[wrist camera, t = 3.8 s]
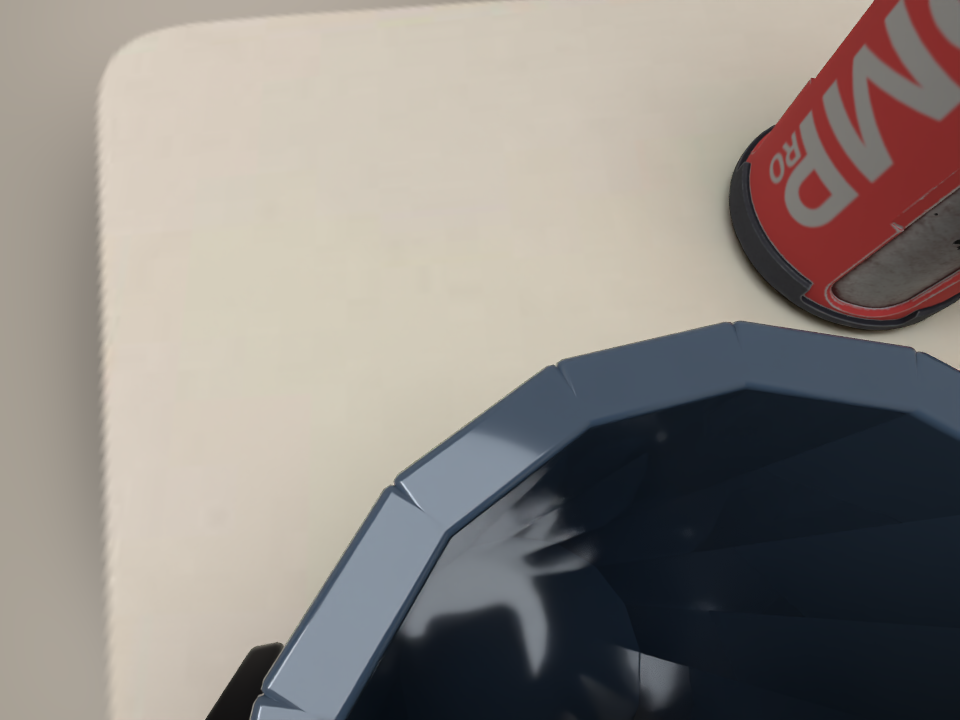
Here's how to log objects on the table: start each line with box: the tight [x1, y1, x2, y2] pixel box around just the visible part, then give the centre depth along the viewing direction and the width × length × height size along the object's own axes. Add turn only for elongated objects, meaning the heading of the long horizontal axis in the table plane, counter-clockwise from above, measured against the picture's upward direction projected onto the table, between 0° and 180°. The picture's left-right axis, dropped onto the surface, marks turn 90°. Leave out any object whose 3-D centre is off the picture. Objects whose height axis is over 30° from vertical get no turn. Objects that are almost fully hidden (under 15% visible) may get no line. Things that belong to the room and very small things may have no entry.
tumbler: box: [250, 321, 960, 720], centre depth 9 cm, size 7×7×13 cm
